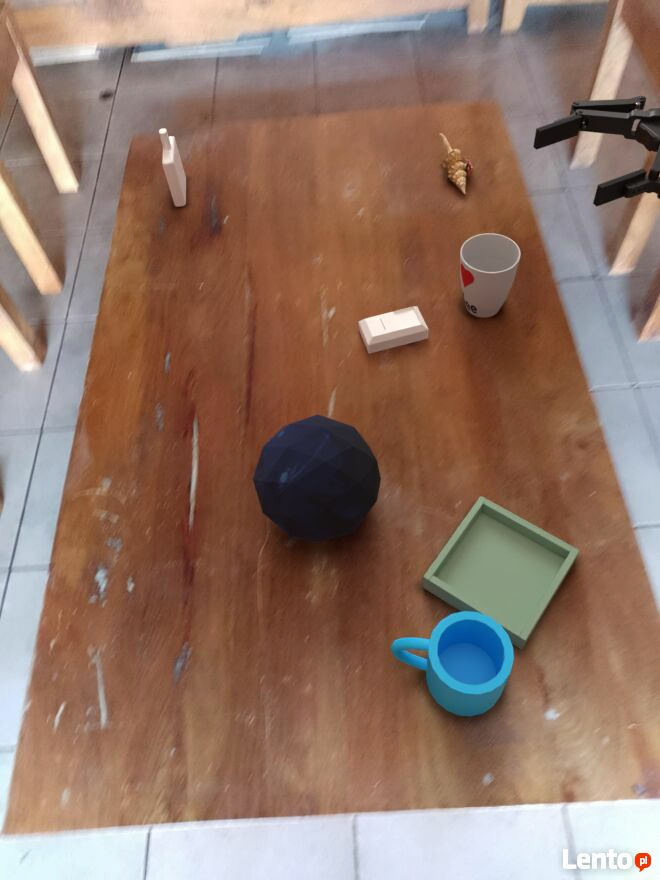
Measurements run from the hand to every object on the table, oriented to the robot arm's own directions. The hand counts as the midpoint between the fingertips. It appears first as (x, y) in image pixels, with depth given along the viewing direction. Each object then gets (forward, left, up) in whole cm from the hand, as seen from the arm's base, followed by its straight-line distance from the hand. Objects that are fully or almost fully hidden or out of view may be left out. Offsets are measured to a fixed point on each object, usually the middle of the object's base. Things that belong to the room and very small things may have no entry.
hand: (565, 166), depth 92 cm
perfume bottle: (+64, +12, -20) cm, 68 cm away
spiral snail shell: (+25, -17, -20) cm, 36 cm away
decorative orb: (+4, +49, -20) cm, 54 cm away
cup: (+5, +8, -20) cm, 22 cm away
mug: (-19, +58, -20) cm, 64 cm away
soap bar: (+13, +20, -20) cm, 32 cm away
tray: (-18, +45, -20) cm, 52 cm away
